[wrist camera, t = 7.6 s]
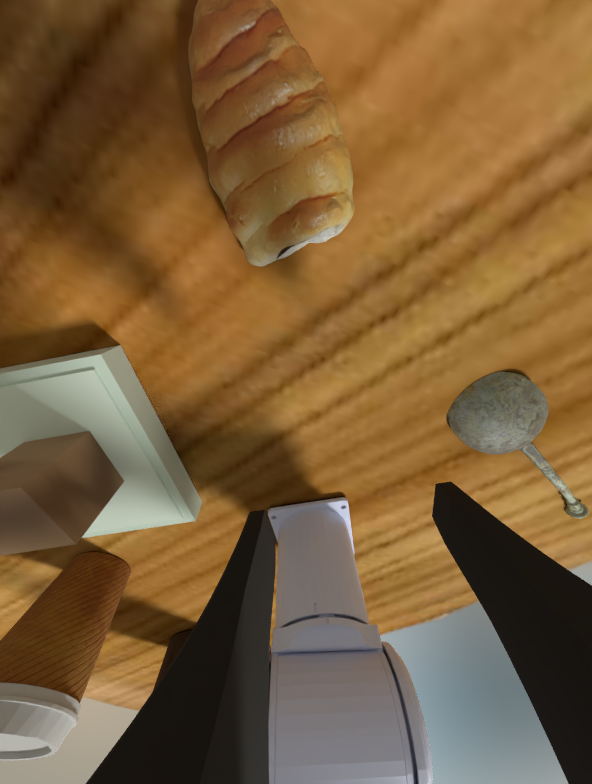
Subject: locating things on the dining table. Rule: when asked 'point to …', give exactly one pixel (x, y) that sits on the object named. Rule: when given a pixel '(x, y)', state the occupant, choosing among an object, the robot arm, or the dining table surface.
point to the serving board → (102, 432)
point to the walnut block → (53, 491)
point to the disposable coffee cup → (56, 655)
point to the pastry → (267, 130)
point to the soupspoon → (507, 423)
